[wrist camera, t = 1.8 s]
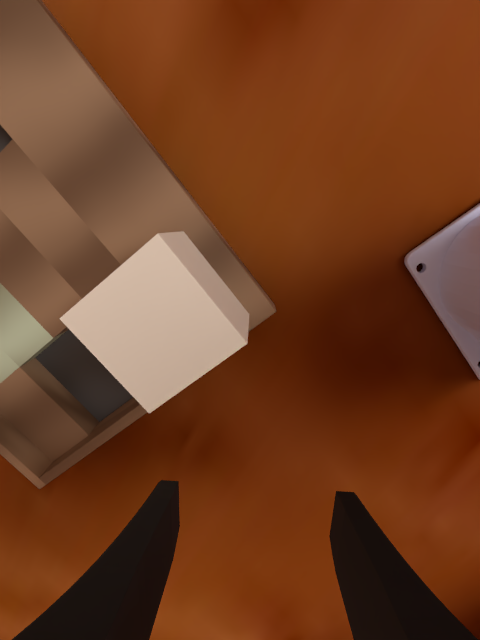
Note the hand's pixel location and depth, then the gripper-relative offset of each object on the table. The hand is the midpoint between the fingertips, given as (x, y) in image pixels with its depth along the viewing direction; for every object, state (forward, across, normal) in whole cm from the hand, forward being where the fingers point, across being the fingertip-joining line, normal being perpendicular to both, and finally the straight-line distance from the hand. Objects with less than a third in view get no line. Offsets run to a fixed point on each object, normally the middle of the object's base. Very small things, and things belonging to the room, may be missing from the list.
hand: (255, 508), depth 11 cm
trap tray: (+9, +13, -8) cm, 17 cm away
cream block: (+8, +4, -5) cm, 10 cm away
